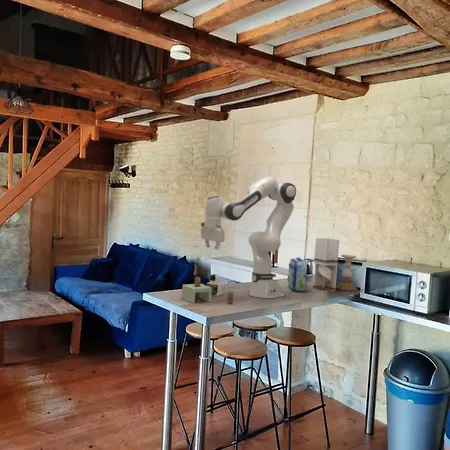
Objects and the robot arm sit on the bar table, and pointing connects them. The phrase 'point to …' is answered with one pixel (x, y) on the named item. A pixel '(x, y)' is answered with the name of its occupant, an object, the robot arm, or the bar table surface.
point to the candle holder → (347, 275)
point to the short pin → (230, 298)
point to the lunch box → (297, 274)
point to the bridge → (190, 290)
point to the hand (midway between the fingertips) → (212, 248)
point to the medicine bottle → (215, 285)
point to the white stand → (326, 264)
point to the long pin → (197, 284)
